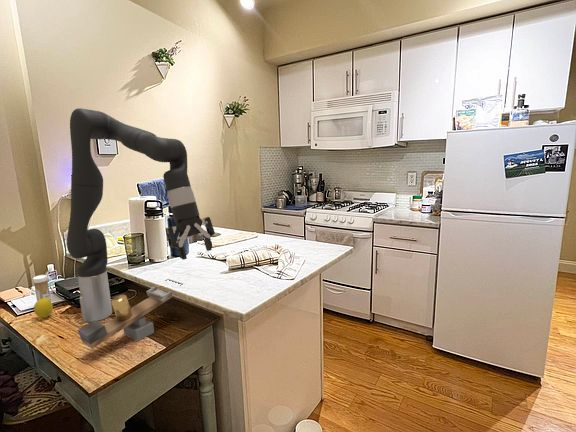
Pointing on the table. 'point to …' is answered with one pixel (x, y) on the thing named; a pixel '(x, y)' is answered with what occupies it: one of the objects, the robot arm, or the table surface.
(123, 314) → the brass weight
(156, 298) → the seesaw
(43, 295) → the sprinkles bottle
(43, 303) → the lemon
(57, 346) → the table surface
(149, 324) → the beam stand
